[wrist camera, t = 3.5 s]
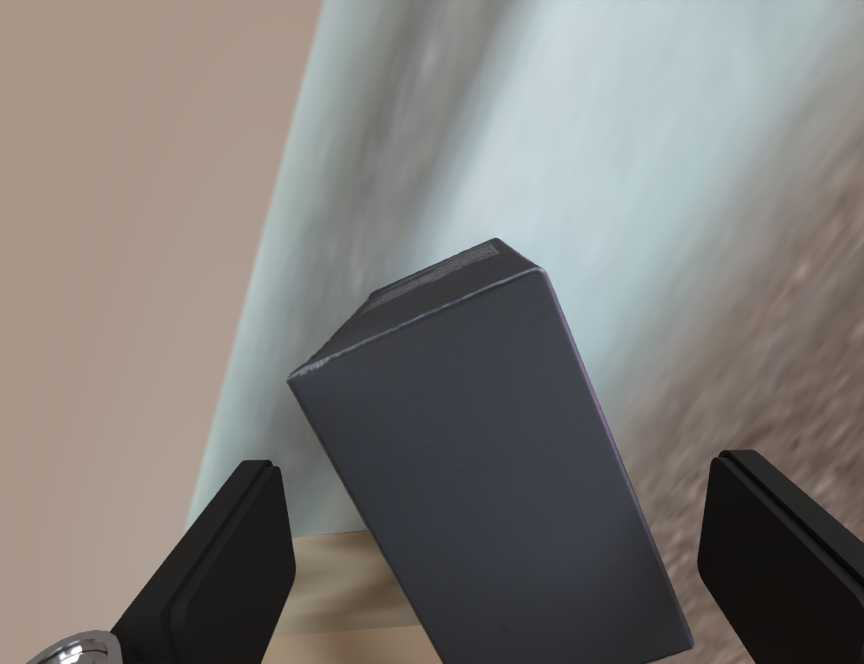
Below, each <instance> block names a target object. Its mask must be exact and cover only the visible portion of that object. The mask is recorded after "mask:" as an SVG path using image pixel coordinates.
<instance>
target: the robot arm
mask: <svg viewBox="0 0 864 664" xmlns="http://www.w3.org/2000/svg"><path fill="white" fill-rule="evenodd" d="M697 564H698V570H699V574H700V576H701V579H702V580H703V582H704V584H705V585H706V587H707V588H708V590H709V592H710V593H711V595H712V596H713V598H714V599H715V601H716V602H717V604H718V606H719V607H720V609H721V610H722V612H723V613H724V615H725V616H726V618H727V620H728V621H729V623H730V624H731V626H732V627H733V629H734V631H735V632H736V634H737V635H738V637H739V638H740V640H741V641H742V643H743V645H744V646H745V648H746V649H747V651H748V652H749V654H750V655H751V657H752V659H753V660H754V662H755V663H756V664H864V543H863V542H861V541H860V540H859V539H858V538H857V537H856V536H855V535H853V534H852V533H851V532H850V531H849V530H848V529H846V528H845V527H844V526H843V525H842V524H841V523H839V522H838V521H837V520H836V519H835V518H834V517H832V516H831V515H830V514H829V513H828V512H827V511H825V510H824V509H823V508H822V507H821V506H820V505H818V504H817V503H816V502H815V501H814V500H813V499H811V498H810V497H809V496H808V495H807V494H806V493H804V492H803V491H802V490H801V489H800V488H799V487H797V486H796V485H795V484H794V483H793V482H792V481H790V480H789V479H788V478H787V477H786V476H785V475H783V474H782V473H781V472H780V471H779V470H778V469H776V468H775V467H774V466H773V465H772V464H771V463H769V462H768V461H767V460H766V459H765V458H764V457H762V456H761V455H760V454H759V453H758V452H756V451H754V450H724V451H722V452H721V453H720V454H719V457H715V458H713V460H712V461H711V466H710V473H709V480H708V487H707V495H706V502H705V509H704V516H703V523H702V530H701V538H700V545H699V552H698V559H697ZM295 575H296V561H295V555H294V549H293V543H292V537H291V530H290V524H289V518H288V512H287V506H286V500H285V494H284V488H283V482H282V475H281V471H280V468H279V467H278V466H273V464H272V462H271V461H270V460H245V461H242V462H241V463H240V464H239V466H238V467H237V468H236V469H235V471H234V472H233V473H232V475H231V476H230V477H229V478H228V480H227V481H226V482H225V484H224V485H223V486H222V487H221V489H220V490H219V491H218V493H217V494H216V495H215V496H214V498H213V499H212V500H211V502H210V503H209V504H208V505H207V507H206V508H205V509H204V511H203V512H202V513H201V514H200V516H199V517H198V518H197V520H196V521H195V522H194V523H193V525H192V526H191V527H190V529H189V530H188V531H187V532H186V534H185V535H184V536H183V538H182V539H181V540H180V542H179V543H178V544H177V545H176V547H175V548H174V550H172V552H171V553H170V554H169V556H168V557H167V558H166V560H165V561H164V562H163V563H162V565H161V566H160V567H159V568H158V570H157V571H156V572H155V574H154V575H153V576H152V577H151V579H150V580H149V581H148V583H147V584H146V585H145V587H144V588H143V589H142V590H141V592H140V593H139V594H138V596H137V597H136V598H135V599H134V601H133V602H132V603H131V605H130V606H129V607H128V608H127V610H126V611H125V612H124V614H123V615H122V617H121V618H120V619H119V621H118V622H117V623H116V624H115V626H114V627H113V628H112V630H111V631H110V632H108V631H100V630H93V631H87V632H82V633H78V634H76V635H73V636H70V637H68V638H65V639H62V640H60V641H59V642H57V643H55V644H53V645H52V646H50V647H48V648H46V649H45V650H43V651H42V652H40V653H39V654H38V655H37V656H35V657H34V658H33V659H31V660H30V661H29V662H27V663H26V664H261V663H262V660H263V658H264V655H265V653H266V650H267V648H268V645H269V643H270V640H271V638H272V635H273V633H274V630H275V628H276V625H277V623H278V621H279V618H280V616H281V613H282V611H283V608H284V606H285V603H286V601H287V598H288V596H289V593H290V591H291V588H292V586H293V583H294V580H295Z"/></svg>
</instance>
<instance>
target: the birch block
mask: <svg viewBox="0 0 864 664" xmlns="http://www.w3.org/2000/svg"><path fill="white" fill-rule="evenodd" d="M292 543H293V549H294V555H295V561H296V575H295V580H294V583H293V586H292V588H291V591H290V593H289V596H288V598H287V601H286V603H285V606H284V608H283V611H282V613H281V616H280V618H279V621H278V623H277V625H276V628H275V630H274V633H273V635H272V638H271V640H270V643H269V645H268V648H267V650H266V653H265V655H264V658H263V660H262V663H261V664H442V662H441V660H440V658H439V657H438V655H437V653H436V651H435V650H434V648H433V646H432V644H431V642H430V640H429V638H428V636H427V635H426V633H425V631H424V629H423V627H422V626H421V624H420V622H419V620H418V619H417V617H416V615H415V613H414V611H413V610H412V608H411V606H410V604H409V602H408V600H407V598H406V597H405V595H404V593H403V592H402V590H401V588H400V586H399V584H398V582H397V581H396V579H395V577H394V575H393V574H392V572H391V570H390V568H389V566H388V564H387V562H386V561H385V559H384V557H383V556H382V554H381V552H380V550H379V549H378V547H377V544H376V543H375V541H374V539H373V537H372V536H371V534H370V532H369V530H366V531H356V532H346V533H336V534H326V535H316V536H307V537H297V538H292Z"/></svg>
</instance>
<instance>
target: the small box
mask: <svg viewBox="0 0 864 664" xmlns="http://www.w3.org/2000/svg"><path fill="white" fill-rule="evenodd" d="M287 383H288V385H289V387H290V389H291V390H292V392H293V394H294V396H295V397H296V399H297V401H298V403H299V405H300V407H301V409H302V411H303V412H304V414H305V416H306V418H307V420H308V422H309V423H310V425H311V427H312V429H313V431H314V433H315V434H316V436H317V438H318V440H319V442H320V443H321V445H322V447H323V449H324V451H325V452H326V454H327V456H328V458H329V459H330V461H331V463H332V465H333V467H334V469H335V470H336V472H337V474H338V476H339V478H340V479H341V481H342V483H343V485H344V487H345V489H346V491H347V493H348V494H349V496H350V498H351V499H352V501H353V503H354V505H355V507H356V508H357V510H358V512H359V514H360V516H361V518H362V519H363V521H364V523H365V525H366V527H367V529H368V530H369V532H370V534H371V536H372V537H373V539H374V541H375V543H376V544H377V547H378V549H379V550H380V552H381V554H382V556H383V557H384V559H385V561H386V562H387V564H388V566H389V568H390V570H391V572H392V574H393V575H394V577H395V579H396V581H397V582H398V584H399V586H400V588H401V590H402V592H403V593H404V595H405V597H406V598H407V600H408V602H409V604H410V606H411V608H412V610H413V611H414V613H415V615H416V617H417V619H418V620H419V622H420V624H421V626H422V627H423V629H424V631H425V633H426V635H427V636H428V638H429V640H430V642H431V644H432V646H433V648H434V650H435V651H436V653H437V655H438V657H439V658H440V660H441V662H442V664H650V663H653V662H656V661H659V660H663V659H666V658H669V657H672V656H674V655H678V654H682V653H685V652H689V651H691V650H692V649H693V648H694V640H693V637H692V634H691V632H690V629H689V627H688V624H687V622H686V619H685V617H684V614H683V612H682V610H681V607H680V605H679V602H678V600H677V597H676V595H675V592H674V589H673V587H672V584H671V582H670V579H669V577H668V575H667V572H666V570H665V567H664V565H663V562H662V560H661V557H660V555H659V552H658V550H657V547H656V545H655V542H654V540H653V537H652V534H651V532H650V529H649V527H648V524H647V522H646V519H645V517H644V514H643V512H642V509H641V507H640V504H639V502H638V499H637V497H636V494H635V492H634V489H633V487H632V484H631V482H630V479H629V477H628V474H627V472H626V469H625V467H624V464H623V462H622V459H621V457H620V454H619V452H618V449H617V447H616V444H615V442H614V439H613V437H612V434H611V432H610V429H609V427H608V424H607V422H606V419H605V417H604V414H603V412H602V409H601V407H600V404H599V402H598V399H597V397H596V394H595V392H594V389H593V387H592V384H591V382H590V379H589V377H588V374H587V372H586V369H585V367H584V364H583V362H582V359H581V357H580V354H579V351H578V349H577V346H576V344H575V341H574V339H573V336H572V334H571V331H570V329H569V326H568V324H567V321H566V319H565V316H564V314H563V311H562V309H561V306H560V304H559V301H558V299H557V296H556V294H555V291H554V289H553V286H552V284H551V282H550V279H549V277H548V275H547V272H546V271H545V270H544V269H543V268H542V267H539V266H538V265H536V264H534V263H533V262H532V261H530V260H529V259H527V258H525V257H524V256H522V255H521V254H520V253H518V252H517V251H515V250H514V249H512V248H511V247H509V246H508V245H507V244H506V243H504V242H503V241H501V240H500V239H499V238H494V239H491V240H488V241H486V242H484V243H482V244H479V245H477V246H475V247H472V248H470V249H468V250H465V251H463V252H460V253H459V254H457V255H455V256H452V257H450V258H448V259H445V260H443V261H441V262H439V263H436V264H434V265H432V266H430V267H427V268H425V269H423V270H421V271H418V272H416V273H414V274H412V275H410V276H408V277H405V278H403V279H401V280H398V281H396V282H394V283H392V284H390V285H387V286H385V287H383V288H381V289H378V290H376V291H374V292H372V293H371V294H370V296H369V298H368V299H367V301H366V302H365V303H364V304H363V305H362V306H361V307H360V308H359V309H358V310H357V311H356V313H355V314H354V315H352V316H351V317H350V319H348V320H347V321H346V322H345V323H344V325H343V326H341V327H340V328H339V329H338V331H336V332H335V333H334V335H333V336H332V337H331V338H330V340H329V341H328V342H326V343H325V344H324V345H323V347H322V348H321V349H320V350H319V351H318V352H317V353H316V354H314V355H313V356H311V358H310V359H309V360H308V361H307V362H306V363H304V364H303V365H301V366H300V367H299V368H297V369H296V370H295V371H294V372H292V373H291V374H290V375H289V376H288V378H287Z"/></svg>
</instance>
